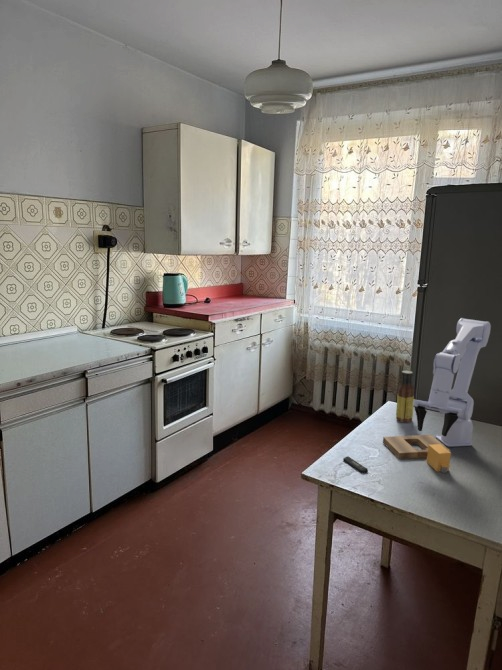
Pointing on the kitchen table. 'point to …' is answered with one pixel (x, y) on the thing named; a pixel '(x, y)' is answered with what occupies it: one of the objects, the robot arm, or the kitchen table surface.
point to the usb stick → (355, 465)
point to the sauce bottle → (405, 398)
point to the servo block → (438, 457)
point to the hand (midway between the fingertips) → (431, 433)
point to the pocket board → (405, 450)
